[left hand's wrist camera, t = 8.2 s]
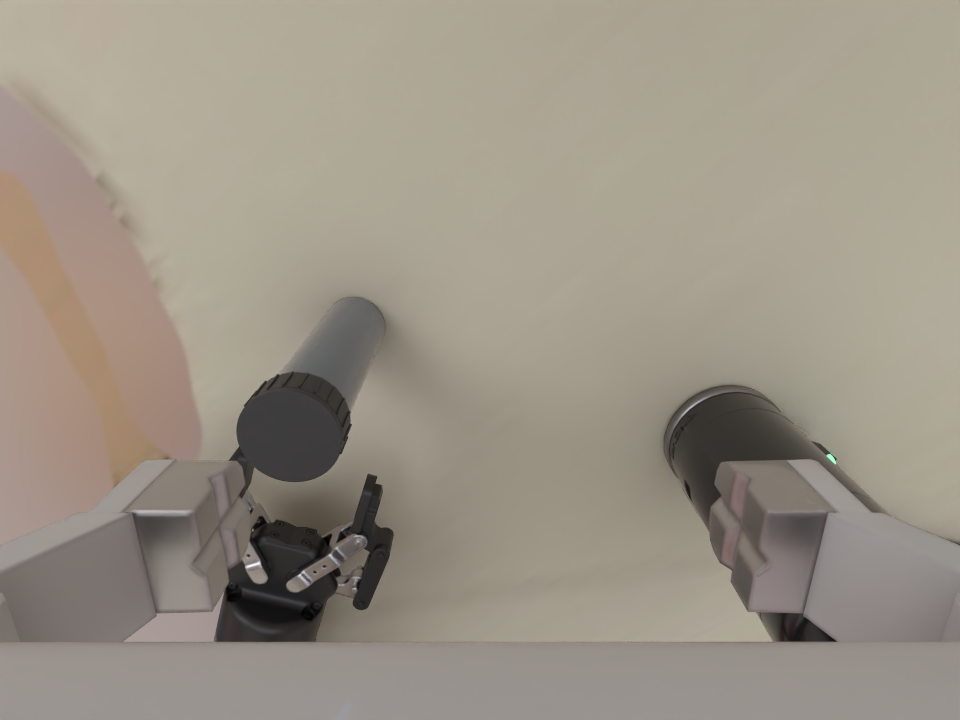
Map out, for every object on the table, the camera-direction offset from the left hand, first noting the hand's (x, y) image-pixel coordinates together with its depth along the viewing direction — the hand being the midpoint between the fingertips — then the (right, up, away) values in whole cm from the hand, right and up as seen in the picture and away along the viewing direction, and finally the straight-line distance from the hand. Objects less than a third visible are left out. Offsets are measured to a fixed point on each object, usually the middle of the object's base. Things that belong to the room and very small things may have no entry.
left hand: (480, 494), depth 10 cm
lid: (-9, -1, +19) cm, 21 cm away
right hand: (-12, -5, +31) cm, 33 cm away
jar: (-9, +5, +34) cm, 36 cm away
